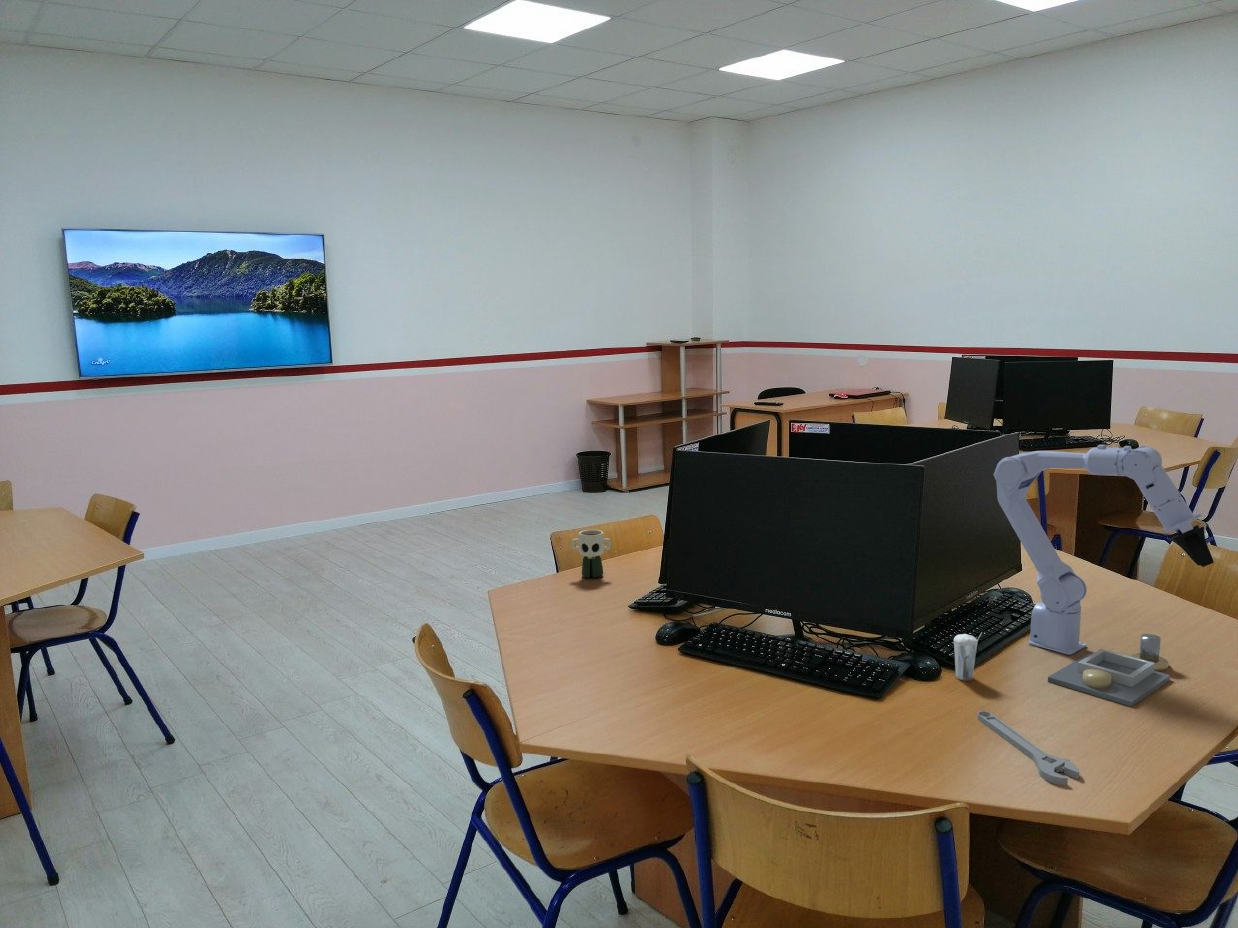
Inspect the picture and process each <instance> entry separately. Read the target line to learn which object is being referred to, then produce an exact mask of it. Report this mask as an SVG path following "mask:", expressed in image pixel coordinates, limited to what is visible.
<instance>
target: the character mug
mask: <svg viewBox="0 0 1238 928" xmlns="http://www.w3.org/2000/svg"><path fill="white" fill-rule="evenodd" d="M605 542H606V546H605ZM577 543H578V546H577ZM572 550H576V551H579V553H580V555H581V556H583V558H582V562H581V563H582V565H581V567H582V568H581V576H582V577H584V578H591V576H592V578H600V577H602V576H604V568H603V567H604V566H603V561H602V558H601V555H603V554H604V552H605V550H611V538H607V537H606V538H604V532H603V530H600V529H585V530H581V531H579V532H578V538H573V539H572Z"/></svg>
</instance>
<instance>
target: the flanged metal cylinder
mask: <svg viewBox="0 0 1238 928" xmlns="http://www.w3.org/2000/svg"><path fill="white" fill-rule="evenodd" d="M1160 650H1161V637H1160V636H1158V635H1156V634H1153V633H1143V634H1141V635H1140V642H1139V652H1138V653H1132V654H1131V655H1130V657H1134V658H1138V659H1142V660H1146V661H1149V662H1153V663H1155V668H1154V671H1157V672H1165V671H1166V670H1168V669H1169V661H1168V660H1167V659H1166V658H1164V657H1162V656H1160V652H1161V651H1160Z"/></svg>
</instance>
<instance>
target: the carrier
mask: <svg viewBox="0 0 1238 928" xmlns="http://www.w3.org/2000/svg"><path fill="white" fill-rule="evenodd" d="M1130 656H1131V655H1130ZM1130 656H1129V655H1126V654H1122V653H1118V652H1116V651H1115V652H1114V651H1111V650H1107V649H1103V648H1100V649H1099V650H1097V651H1095V652H1093V653H1090V652H1089V653H1087V654H1085V655H1083V656H1082V657H1080V658H1078V659H1077V660H1075V661H1072V662H1070V664H1068V665H1066V666H1064V667H1062V668H1060V669H1058V671H1056V672H1054V673H1052V674H1051V675H1049V676H1047V682H1049V683H1052V684H1055V685H1057V686H1058V685H1059V686H1062V687H1064V688H1069V689H1071V690H1074V691H1078V692H1081V693H1084V694H1088V695H1091V696H1094V697H1097V698H1100V699H1105V700H1108V701H1111V702H1113V703H1118V704H1121V705H1124V706H1127V707H1130V708H1132V707H1133V706H1135V705H1136V704H1138V703H1139V702H1140V701H1142V700H1144V699H1145V698H1146V697H1148V696H1149V695H1150V694H1152V693H1154V692H1155V691H1157V690H1158V689H1159V688H1161V687H1162V686H1164V685H1165V684H1166V683H1168V682H1169V681H1170V680H1171V675H1170V674H1167V673H1164V672H1161V671H1159V672H1157V671H1154V668H1155V663H1153V662H1149V661H1146V660H1142V659H1138V658H1134V657H1130Z"/></svg>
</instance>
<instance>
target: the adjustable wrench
mask: <svg viewBox="0 0 1238 928" xmlns="http://www.w3.org/2000/svg"><path fill="white" fill-rule="evenodd" d="M977 720H978V721H979V722H981V724H983V725H984V726H986V728H989V729H990V730H992V732H994V733H995V734H997V735H998V736H1000V737H1001V738H1002V739H1004V741H1007V742H1008V743H1009V744H1010V745H1011V746H1013V747H1014V748H1015V749H1017V750H1018V751H1019V752H1021V753H1022V754H1024V755H1025V756H1026V757H1027V758H1029V759H1030V760H1031V761H1032V762H1033V763H1034V765H1035V767H1036V768H1037V771H1038V774H1039V776H1040V777H1041V778H1042V779H1043V780H1045V782H1046V781H1047V782H1048V783H1052V784H1053V785H1054V784H1055V785H1057V786H1067V785H1068V782H1069V780H1068V779H1069V778H1068V777H1070V778H1072V779H1074V780H1079V779H1080V770H1079V767H1078V766H1077V765H1076V764H1074V763H1073V762H1071V761H1070V759H1069V758H1063V757H1062V758H1061V757H1058V756H1056V755H1051V754H1049V753H1047V752H1045V751H1043V750H1042V749H1041V748H1039V747H1038V746H1036V745H1035V744H1034V743H1033V742H1031V741H1029V740H1028V739H1027V738H1025V737H1024V736H1023V735H1022V734H1020V733H1019V732H1018V731H1016V730H1015V729H1013V728H1012V727H1011V726H1009V725H1008V724H1006V722H1004V721H1002V720H1001V719H1000V718H998V716H996V715H994V714H993V713H992V712H990V711H986V710H979V711H977ZM1059 772H1061V773H1063V774H1064V775H1062V774H1060V773H1059ZM1065 775H1066V776H1065ZM1067 776H1068V777H1067Z"/></svg>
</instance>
